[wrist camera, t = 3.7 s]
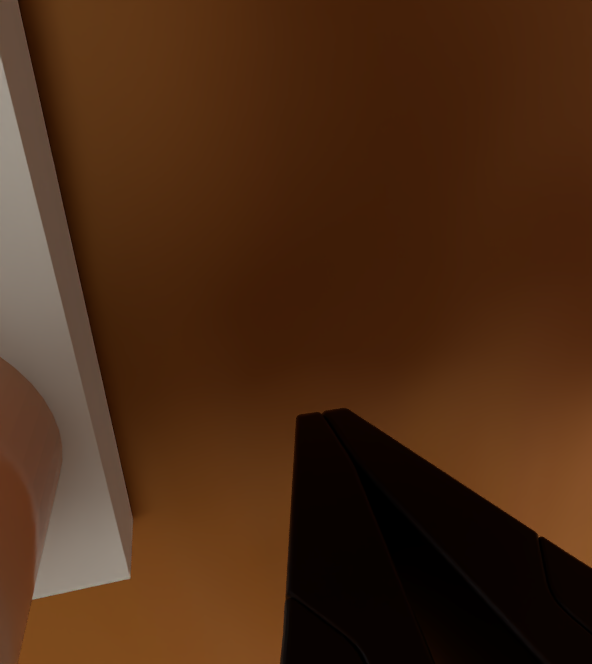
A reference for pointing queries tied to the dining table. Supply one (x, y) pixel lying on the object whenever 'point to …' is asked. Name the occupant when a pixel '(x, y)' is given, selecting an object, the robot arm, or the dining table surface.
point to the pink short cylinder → (23, 499)
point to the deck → (55, 338)
